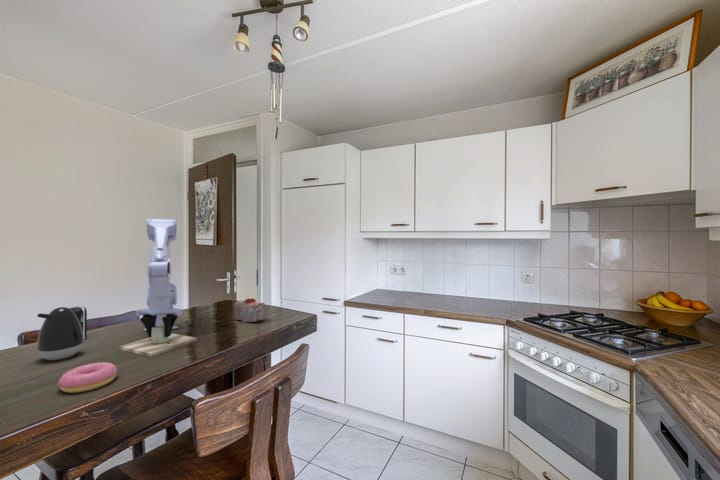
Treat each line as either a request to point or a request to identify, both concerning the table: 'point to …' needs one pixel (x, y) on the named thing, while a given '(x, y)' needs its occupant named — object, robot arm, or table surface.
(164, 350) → the post board
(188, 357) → the table surface
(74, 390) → the doughnut
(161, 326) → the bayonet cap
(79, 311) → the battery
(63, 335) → the black kettle
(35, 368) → the table surface
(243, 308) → the food item
